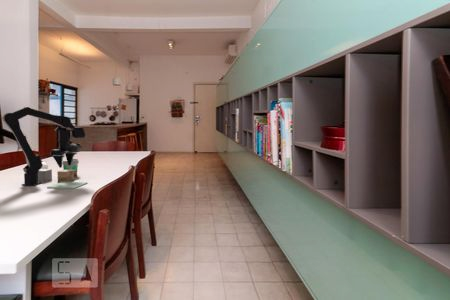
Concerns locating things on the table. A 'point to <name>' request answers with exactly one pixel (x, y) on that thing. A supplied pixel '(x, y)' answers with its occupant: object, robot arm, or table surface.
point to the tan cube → (65, 175)
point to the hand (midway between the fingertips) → (65, 166)
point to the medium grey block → (45, 175)
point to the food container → (71, 166)
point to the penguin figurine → (44, 165)
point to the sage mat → (67, 185)
